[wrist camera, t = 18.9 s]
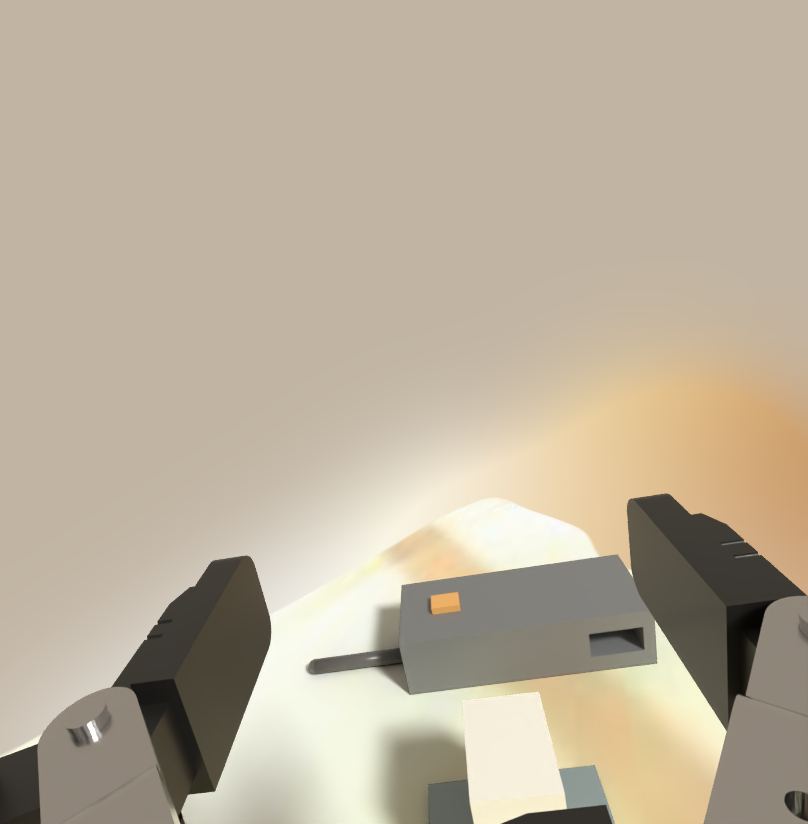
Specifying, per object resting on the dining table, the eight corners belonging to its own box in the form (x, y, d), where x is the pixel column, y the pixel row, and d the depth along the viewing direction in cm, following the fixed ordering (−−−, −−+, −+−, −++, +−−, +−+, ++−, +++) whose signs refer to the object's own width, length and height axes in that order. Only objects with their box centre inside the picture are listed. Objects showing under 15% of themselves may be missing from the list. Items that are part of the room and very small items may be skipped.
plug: (495, 933, 28) (469, 802, 25) (478, 771, 36) (458, 662, 34) (581, 926, 27) (564, 793, 25) (544, 764, 36) (529, 653, 34)
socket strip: (301, 708, 45) (285, 653, 44) (318, 642, 53) (305, 593, 51) (657, 663, 43) (653, 603, 42) (621, 601, 51) (616, 548, 49)
